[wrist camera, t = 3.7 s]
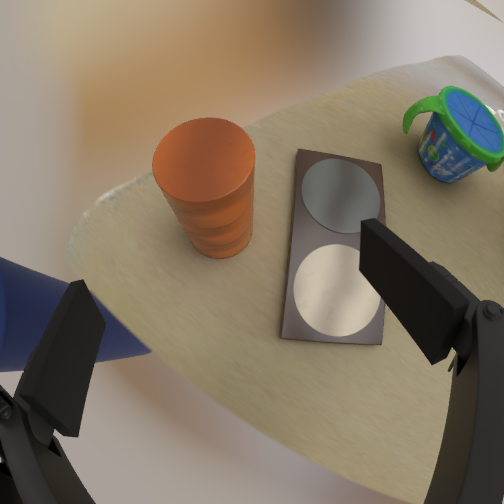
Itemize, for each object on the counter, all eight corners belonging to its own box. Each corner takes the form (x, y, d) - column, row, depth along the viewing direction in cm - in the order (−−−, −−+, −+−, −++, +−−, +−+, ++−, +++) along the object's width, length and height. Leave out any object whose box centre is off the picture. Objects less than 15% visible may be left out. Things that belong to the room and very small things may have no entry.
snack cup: (387, 169, 32) (425, 117, 22) (391, 113, 34) (418, 63, 24) (479, 214, 30) (526, 182, 21) (474, 156, 33) (510, 121, 23)
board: (279, 338, 26) (280, 338, 25) (296, 154, 32) (298, 147, 30) (377, 344, 26) (382, 345, 25) (377, 169, 31) (381, 163, 30)
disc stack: (183, 254, 28) (140, 197, 16) (195, 196, 30) (167, 115, 18) (248, 262, 28) (247, 208, 16) (256, 202, 30) (260, 121, 18)
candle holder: (467, 95, 37) (477, 82, 33) (509, 126, 36) (519, 114, 32) (474, 135, 34) (488, 121, 30) (518, 168, 33) (531, 157, 29)
